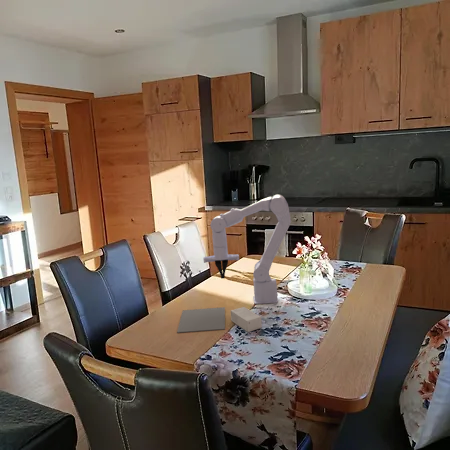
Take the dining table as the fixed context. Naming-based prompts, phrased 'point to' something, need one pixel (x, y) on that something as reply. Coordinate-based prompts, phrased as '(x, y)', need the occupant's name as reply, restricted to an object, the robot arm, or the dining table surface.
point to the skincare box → (246, 319)
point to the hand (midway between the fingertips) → (222, 277)
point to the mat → (202, 320)
